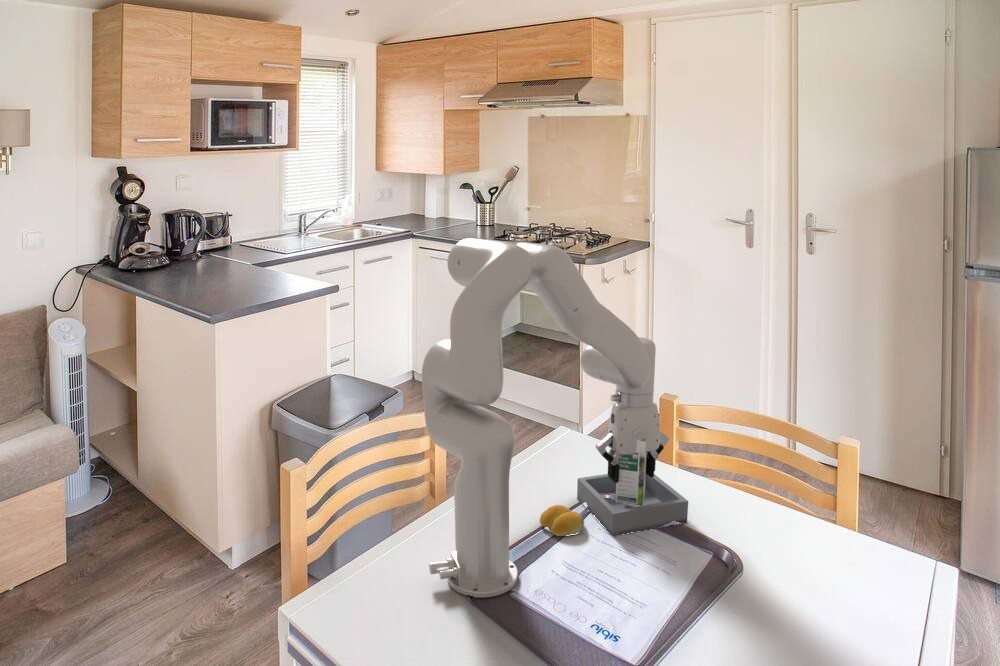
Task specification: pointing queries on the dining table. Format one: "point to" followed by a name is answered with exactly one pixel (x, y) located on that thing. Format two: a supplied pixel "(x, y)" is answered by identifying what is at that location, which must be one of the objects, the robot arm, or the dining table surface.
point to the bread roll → (561, 520)
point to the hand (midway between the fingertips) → (631, 476)
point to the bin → (623, 518)
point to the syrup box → (632, 476)
